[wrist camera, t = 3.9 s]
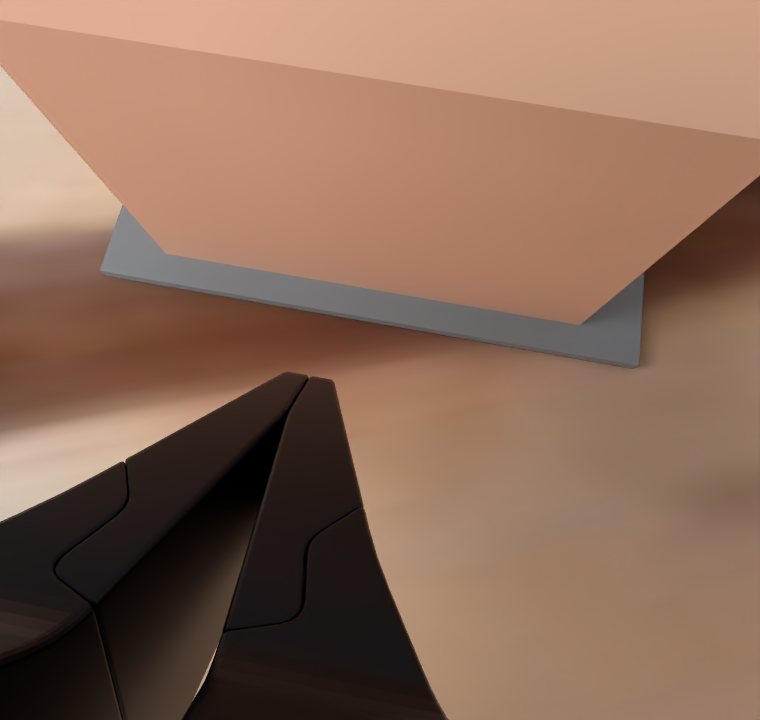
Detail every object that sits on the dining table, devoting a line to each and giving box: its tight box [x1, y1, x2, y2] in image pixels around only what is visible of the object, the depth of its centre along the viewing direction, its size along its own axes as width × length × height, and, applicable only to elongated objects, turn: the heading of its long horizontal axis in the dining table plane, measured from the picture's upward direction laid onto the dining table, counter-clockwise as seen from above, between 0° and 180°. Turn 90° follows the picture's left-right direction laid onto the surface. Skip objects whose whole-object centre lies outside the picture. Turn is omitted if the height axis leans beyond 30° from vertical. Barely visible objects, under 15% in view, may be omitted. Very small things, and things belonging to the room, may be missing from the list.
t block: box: [0, 0, 760, 325], centre depth 14 cm, size 13×14×9 cm
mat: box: [100, 205, 645, 368], centre depth 20 cm, size 23×18×1 cm
